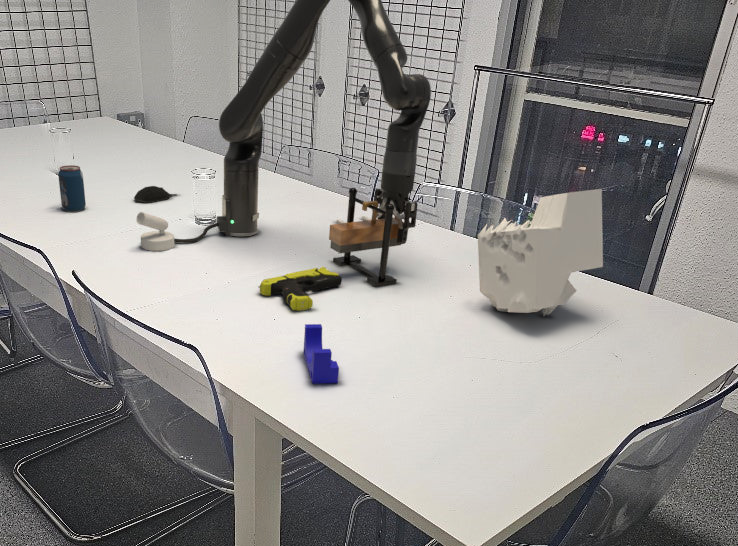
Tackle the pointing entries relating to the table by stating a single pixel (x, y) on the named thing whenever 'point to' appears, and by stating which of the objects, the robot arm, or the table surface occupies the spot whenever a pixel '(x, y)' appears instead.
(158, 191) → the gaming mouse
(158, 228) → the white spotlight lamp
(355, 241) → the scrub brush
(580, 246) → the jagged cream rock lump
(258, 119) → the robot arm
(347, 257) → the black hurdle stand
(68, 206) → the soda can
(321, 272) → the stun gun
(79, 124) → the table surface
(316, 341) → the blue stepped block
